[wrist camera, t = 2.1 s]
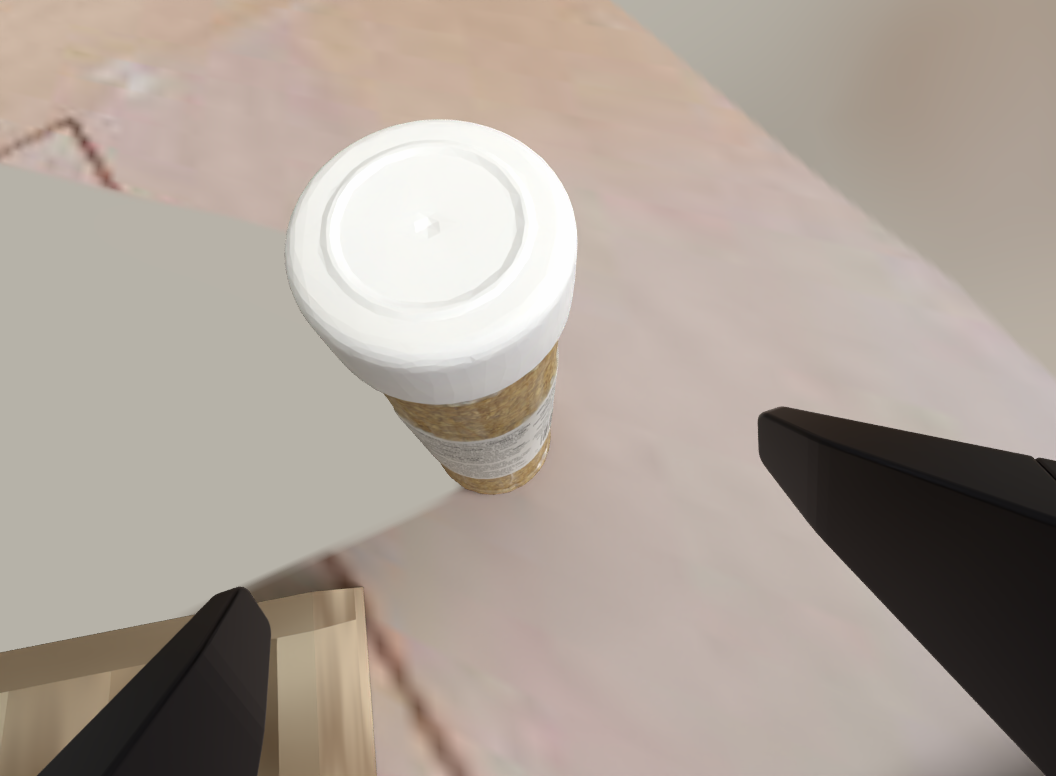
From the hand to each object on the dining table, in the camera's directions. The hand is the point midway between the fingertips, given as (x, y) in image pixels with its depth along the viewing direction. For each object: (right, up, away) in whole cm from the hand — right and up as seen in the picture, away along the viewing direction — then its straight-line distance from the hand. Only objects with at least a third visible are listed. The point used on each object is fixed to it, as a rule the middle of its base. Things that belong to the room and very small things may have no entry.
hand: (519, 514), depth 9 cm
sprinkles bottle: (-1, 0, +12) cm, 12 cm away
